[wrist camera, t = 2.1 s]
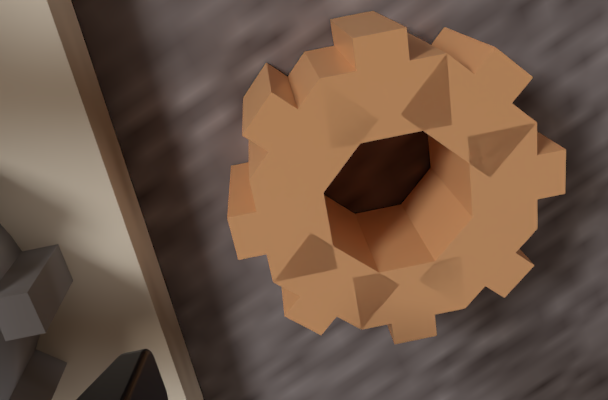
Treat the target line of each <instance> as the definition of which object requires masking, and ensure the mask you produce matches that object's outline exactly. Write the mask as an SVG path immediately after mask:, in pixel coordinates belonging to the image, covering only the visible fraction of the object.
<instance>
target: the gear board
mask: <svg viewBox="0 0 608 400" xmlns="http://www.w3.org/2000/svg"><path fill="white" fill-rule="evenodd" d="M141 349H148V350H150V351H151V352H152V354H153V355H154V358H155V361H156V363H157V366H158V369H159V372H160V374H161V377H162V380H163V383H164V385H165V388H166V391H167V395H168V400H204V399H203V396H202V393H201V390H200V387H199V384H198V381H197V378H196V375H195V372H194V369H193V366H192V363H191V360H190V356H189V353H188V350H187V347H186V344H185V341H184V338H183V335H182V332H181V329H180V326H179V323H178V320H177V317H176V314H175V311H174V308H173V305H172V302H171V299H170V296H169V293H168V290H167V287H166V284H165V281H164V278H163V275H162V272H161V269H160V266H159V263H158V260H157V257H156V254H155V251H154V248H153V245H152V242H151V239H150V236H149V233H148V230H147V227H146V224H145V221H144V218H143V215H142V212H141V209H140V206H139V203H138V200H137V197H136V194H135V191H134V188H133V185H132V182H131V179H130V176H129V173H128V170H127V167H126V164H125V161H124V158H123V155H122V152H121V149H120V146H119V143H118V140H117V137H116V134H115V131H114V128H113V125H112V122H111V119H110V116H109V113H108V110H107V107H106V104H105V101H104V98H103V95H102V92H101V89H100V86H99V83H98V80H97V77H96V74H95V71H94V68H93V65H92V62H91V59H90V56H89V53H88V50H87V47H86V44H85V41H84V38H83V35H82V32H81V29H80V26H79V23H78V20H77V17H76V14H75V11H74V8H73V5H72V2H71V0H0V400H76V399H77V398H78V397H79V396H80V395H81V394H82V393H83V392H84V391H85V390H86V389H87V388H88V387H89V386H90V385H91V384H92V383H93V382H94V381H95V380H96V379H97V378H98V377H99V376H100V375H101V374H102V373H103V372H104V370H105V369H106V368H107V367H108V366H109V365H110V364H111V363H112V362H113V361H114V360H115V359H116V358H117V357H118V356H119V355H121V354H123V353H126V352H131V351H136V350H141Z"/></svg>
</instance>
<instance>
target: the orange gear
mask: <svg viewBox="0 0 608 400" xmlns="http://www.w3.org/2000/svg"><path fill="white" fill-rule="evenodd" d="M330 22H331V29H332V35H333V42H334V46H330V47H325V48H320V49H315V50H310V51H305V52H304V53H303V55H302V56H301V58H300V59H299V61H298V62H297V64H296V65H295V66H294V68H293V69H292V71H291V72H290V74H289V75H288V77H287V76H286V75H284V74H283V73H281V72H280V71H278V70H277V69H275V68H274V67H272V66H271V65H270V64H268V63H267V62H266V64H265V65H264V67H263V68H262V70H261V71H260V73H259V74H258V76H257V77H256V79H255V80H254V82H253V84H252V85H251V87H250V88H249V90H248V91H247V93H246V94H245V96H244V97H243V125H242V136H244V137H245V138H247V139H249V162H247V163H242V164H238V165H233V166H231V174H230V188H229V201H228V215H227V219H228V222H229V226H230V230H231V234H232V238H233V241H234V245H235V249H236V253H237V257H238V260H240V259H245V258H250V257H255V256H260V255H265V254H267V258H268V262H269V267H270V271H271V275H272V279H273V282H274V283H276V284H277V285H279V286H281V287H282V296H283V306H284V315H285V317H287V318H289V319H291V320H293V321H295V322H297V323H299V324H300V325H302V326H304V327H306V328H308V329H310V330H312V331H314V332H316V333H318V334H320V335H322V334H323V332H324V331H325V330H326V329H327V328H328V326H329V325H330V324H331V323H332V322H333V320H334V319H335V318H336V317H339V318H341V319H343V320H344V321H346V322H348V323H350V324H352V325H354V326H356V327H357V328H359V329H361V330H362V329H367V328H372V327H377V326H382V325H388V328H389V331H390V333H391V336H392V339H393V341H394V344H399V343H403V342H408V341H413V340H418V339H423V338H428V337H433V336H437V332H436V322H435V315H436V314H441V313H446V312H450V311H455V310H460V309H465V308H466V307H467V306H468V305H469V304H470V302H471V301H472V300H473V299H474V298H475V297H476V296H477V295H478V294H479V293H480V291H481V290H482V289H483V288H484V287H485V286H486V287H488V288H489V289H491V290H492V291H494V292H496V293H497V294H499V295H501V296H502V297H504V298H505V297H506V296H507V295H508V294H509V292H510V291H511V290H512V289H513V288H514V287H515V286H516V285H517V284H518V283H519V282H520V281H521V280H522V278H523V277H524V276H525V275H526V274H527V273H528V272H529V271H530V270H531V269H532V268H533V267H534V266H535V265H534V264H533V263H532V262H531V261H530V260H529V259H528V257H527V256H526V255H525V254H524V253H523V252H522V251H521V250H520V249H519V248H520V247H521V246H522V245H523V244H524V243H525V242H526V241H527V240H528V239H529V237H530V236H531V235H532V234H533V233H534V232H535V231H536V230H537V229H538V211H537V199H542V198H547V197H552V196H557V195H562V194H565V182H566V149H564V148H563V147H561V146H560V145H558V144H557V143H555V142H553V141H552V140H550V139H549V138H547V137H545V136H544V135H542V134H541V133H539V132H537V122H536V121H535V120H533V119H532V118H531V117H529V116H528V115H527V114H525V113H524V112H523V111H522V110H520V109H519V108H518V107H516V106H515V105H514V104H512V103H513V101H514V100H515V99H516V98H517V96H518V95H519V94H520V93H521V92H522V90H523V89H524V88H525V87H526V86H527V84H528V83H529V82H530V81H531V79H532V78H533V77H532V76H531V75H530V74H528V73H527V72H526V71H525V70H523V69H522V68H521V67H520V66H518V65H517V64H516V63H515V62H513V61H512V60H511V59H510V58H508V57H507V56H506V55H505V54H503V53H502V52H501V51H500V50H498V49H497V48H496V47H494V46H491V45H488V44H486V43H483V42H481V41H478V40H476V39H473V38H471V37H468V36H466V35H463V34H461V33H458V32H456V31H453V30H451V29H448V28H446V27H444V28H443V30H442V31H441V32H440V34H439V35H438V36H437V38H436V39H435V40H434V42H433V43H432V44H431V45H430V44H428V43H427V42H425V41H423V40H421V39H419V38H417V37H415V36H413V35H411V34H409V33H407V27H405V26H403V25H401V24H399V23H397V22H395V21H393V20H390V19H388V18H386V17H384V16H382V15H380V14H378V13H376V12H374V11H369V12H364V13H359V14H354V15H349V16H344V17H339V18H334V19H330ZM419 131H424V132H425V133H427V134H428V144H429V155H430V166H431V168H430V169H429V170H428V171H427V173H426V174H425V175H424V176H423V178H422V179H421V180H420V181H419V183H418V184H417V185H416V186H415V188H414V189H413V190H412V191H411V193H410V194H409V195H408V196H407V198H406V199H405V200H404V201H403V203H402V204H401V205H396V206H391V207H386V208H381V209H376V210H371V211H366V212H361V213H356V214H355V213H353V212H351V211H350V210H348V209H346V208H345V207H343V206H342V205H340V204H338V203H337V202H335V201H333V200H332V199H330V198H329V197H327V196H325V195H324V191H325V190H326V189H327V187H328V186H329V185H330V183H331V182H332V181H333V179H334V178H335V177H336V175H337V174H338V173H339V171H340V170H341V169H342V167H343V166H344V165H345V163H346V162H347V161H348V159H349V158H350V157H351V155H352V154H353V153H354V151H355V150H356V149H357V147H358V146H359V145H360V143H365V142H370V141H375V140H380V139H385V138H390V137H395V136H399V135H404V134H409V133H414V132H419Z"/></svg>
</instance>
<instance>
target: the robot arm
mask: <svg viewBox="0 0 608 400" xmlns="http://www.w3.org/2000/svg"><path fill="white" fill-rule="evenodd" d="M76 400H168V395H167V391H166V388H165V385H164V383H163V380H162V377H161V374H160V372H159V369H158V366H157V363H156V361H155V358H154V355H153V354H152V352H151V351H150V350H148V349H141V350H136V351H131V352H126V353H123V354H121V355H119V356H118V357H117V358H116V359H115V360H114V361H113V362H112V363H111V364H110V365H109V366H108V367H107V368H106V369H105V370H104V372H103V373H102V374H101V375H100V376H99V377H98V378H97V379H96V380H95V381H94V382H93V383H92V384H91V385H90V386H89V387H88V388H87V389H86V390H85V391H84V392H83V393H82V394H81V395H80V396H79V397H78V398H77V399H76Z"/></svg>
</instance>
